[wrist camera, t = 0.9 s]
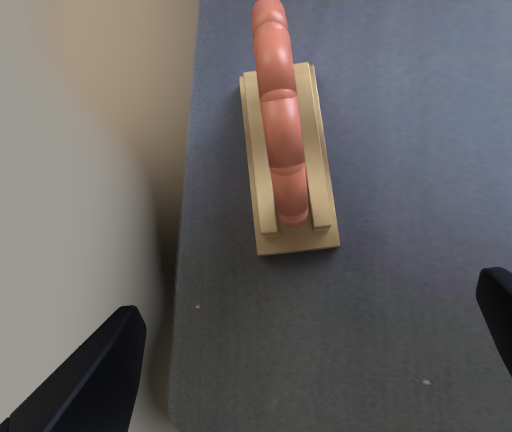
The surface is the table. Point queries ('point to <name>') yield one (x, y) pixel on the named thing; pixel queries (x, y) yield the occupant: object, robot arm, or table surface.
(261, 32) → the ring
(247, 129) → the stand
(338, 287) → the table surface
